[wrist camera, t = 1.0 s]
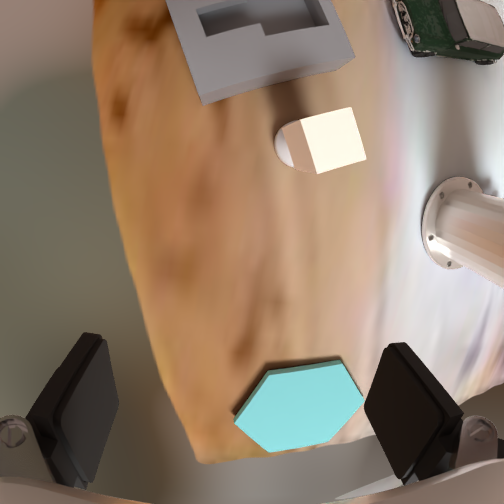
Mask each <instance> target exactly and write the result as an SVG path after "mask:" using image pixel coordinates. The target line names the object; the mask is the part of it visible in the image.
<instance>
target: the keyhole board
mask: <svg viewBox="0 0 504 504" xmlns="http://www.w3.org/2000/svg"><path fill="white" fill-rule="evenodd" d="M166 3H167V6H168V9H169V12H170V14H171V17H172V20H173V23H174V26H175V29H176V32H177V34H178V37H179V40H180V43H181V46H182V49H183V51H184V54H185V57H186V60H187V63H188V66H189V69H190V71H191V74H192V77H193V80H194V83H195V86H196V89H197V91H198V94H199V97H200V100H201V102H202V105H203V106H204V105H207V104H210V103H212V102H215V101H218V100H222V99H225V98H228V97H231V96H234V95H237V94H241V93H244V92H247V91H251V90H254V89H258V88H262V87H265V86H269V85H273V84H277V83H280V82H284V81H289V80H293V79H297V78H301V77H306V76H311V75H315V74H320V73H325V72H330V71H336V70H337V69H339V68H340V67H342V66H343V65H345V64H346V63H348V62H349V61H351V60H352V59H354V58H355V55H354V52H353V50H352V47H351V45H350V42H349V40H348V37H347V35H346V33H345V30H344V28H343V26H342V23H341V21H340V19H339V17H338V14H337V12H336V10H335V8H334V6H333V4H332V2H331V0H166Z"/></svg>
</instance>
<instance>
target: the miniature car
mask: <svg viewBox="0 0 504 504" xmlns="http://www.w3.org/2000/svg"><path fill="white" fill-rule="evenodd" d="M392 4H393V8H394V11H395V14H396V17H397V21H398V24H399V26H400V29H401V32H402V34H403V39H405V40H406V42H407V44H408V46H409V47H410V49H411V51H412V53H413V56H415V57H428V56H434V55H435V54H436V56H440V57H449V58H457V59H465V60H471V61H476V64H478V65H490V64H493V61H494V63H496V62H497V59H500V58H501V57H502V56H503V55H504V24H503V22H502V20H501V18H500V16H499V14H498V12H497V10H496V9H495V7H493V6H492V5H489V4H487V3H485V2H482V1H479V0H392ZM396 6H397V8H396ZM397 9H398V11H399V14H400V17H401V20H402V23H403V26H404V29H405V32H406V35H405V34H404V31H403V28H402V25H401V22H400V19H399V15H398V11H397ZM407 38H408V40H407ZM495 60H496V62H495Z"/></svg>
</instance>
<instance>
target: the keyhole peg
mask: <svg viewBox="0 0 504 504" xmlns="http://www.w3.org/2000/svg"><path fill="white" fill-rule="evenodd" d="M274 149H275V152H276V155H277V156H278V158H279V159H280V160H281V161H282V162H283V163H284V164H286V165H288V166H290V167H294V168H295V170H299V171H305V172H310V173H315V174H319V173H322V172H325V171H329V170H332V169H335V168H338V167H342V166H345V165H349V164H352V163H355V162H359V161H362V160H366V156H365V152H364V148H363V145H362V141H361V138H360V134H359V131H358V128H357V124H356V121H355V118H354V115H353V112H352V109H351V107H349V108H344V109H340V110H336V111H332V112H327V113H323V114H319V115H315V116H311V117H308V118H304V119H300V120H295V121H292V122H289V123H287V124H285V125H284V126H282V127H281V128H280V129H279V130H278V132H277V134H276V136H275V139H274Z"/></svg>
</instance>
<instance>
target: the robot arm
mask: <svg viewBox="0 0 504 504" xmlns="http://www.w3.org/2000/svg"><path fill="white" fill-rule="evenodd" d="M422 237H423V243H424V247H425V249H426V252H427V254H428V256H429V257H430V258H431V260H432V261H433V262H435V263H436V264H437V265H439V266H441V267H442V268H445V269H458V268H461V267H463V266H464V267H466V268H468V269H470V270H472V271H473V272H475V273H477V274H479V275H480V276H482V277H484V278H486V279H487V280H489V281H491V282H493V283H494V284H496V285H498V286H499V287H501V288H503V289H504V198H499V197H495V196H491V195H487V194H484V193H483V191H482V189H481V188H480V187H479V185H478V184H477V183H475V182H474V181H473V180H471V179H468V178H465V177H452V178H449V179H447V180H445V181H444V182H442V183H441V184H440V185H439V186H438V187H437V188H436V189H435V190H434V192H433V193H432V195H431V196H430V199H429V201H428V203H427V205H426V208H425V211H424V216H423V221H422ZM118 405H119V400H118V395H117V390H116V386H115V381H114V377H113V372H112V367H111V362H110V356H109V351H108V346H107V341H106V340H105V339H102V336H101V335H99V334H93V333H87V332H85V333H83V334H82V335H81V337H80V338H79V340H78V341H77V343H76V344H75V345H74V347H73V348H72V350H71V351H70V352H69V354H68V355H67V357H66V358H65V360H64V361H63V363H62V364H61V366H60V367H58V369H57V370H56V371H55V372H54V374H53V375H52V377H51V378H50V380H49V381H48V383H47V384H46V386H45V388H44V389H43V391H42V392H41V394H40V395H39V397H38V398H37V400H36V402H35V403H34V405H33V406H32V408H31V410H30V411H29V413H28V415H27V416H26V418H23V417H21V416H18V415H6V416H4V417H1V418H0V504H150V503H143V502H137V501H132V500H126V499H120V498H115V497H110V496H106V495H101V494H97V493H93V492H88V491H85V490H86V488H87V485H88V482H90V483H91V482H93V480H94V478H95V475H96V472H97V469H98V465H99V462H100V459H101V456H102V453H103V450H104V447H105V444H106V441H107V438H108V435H109V432H110V430H111V427H112V424H113V421H114V418H115V415H116V413H117V410H118ZM364 410H365V413H366V415H367V417H368V419H369V421H370V423H371V425H372V428H373V430H374V432H375V434H376V436H377V438H378V440H379V442H380V444H381V446H382V448H383V450H384V452H385V454H386V456H387V458H388V461H389V463H390V465H391V467H392V469H393V471H394V473H395V475H396V477H397V478H398V479H401V481H402V483H403V485H404V486H402V487H398V488H394V489H391V490H387V491H383V492H379V493H375V494H371V495H366V496H362V497H357V498H352V499H347V500H341V501H335V502H329V503H323V504H504V440H502V439H499V438H498V433H497V429H496V427H495V425H494V424H493V423H492V422H491V421H489V420H488V419H486V418H484V417H481V416H470V417H468V418H466V419H465V420H464V422H463V420H462V419H461V417H462V416H463V414H464V413H463V411H462V410H461V409H460V408H459V406H458V405H457V404H456V403H455V401H454V400H453V399H452V397H451V396H450V395H449V394H448V393H447V391H446V390H445V389H444V388H443V386H442V385H441V384H440V383H439V381H438V380H437V379H436V378H435V377H434V375H433V374H432V373H431V372H430V371H429V369H428V368H427V367H426V366H425V365H424V363H423V362H422V361H421V360H420V359H419V357H418V356H417V355H416V354H415V353H414V352H413V350H412V349H411V348H410V347H409V346H408V345H407V344H406V343H405V342H400V343H391V344H389V345H388V347H387V348H385V349H384V350H383V353H382V356H381V359H380V362H379V365H378V368H377V371H376V374H375V377H374V379H373V382H372V385H371V388H370V390H369V393H368V396H367V398H366V401H365V404H364ZM418 480H419V482H417V481H418ZM414 482H415V483H414ZM411 483H412V484H411ZM74 487H78V488H81V489H85V490H81V489H76V488H74Z"/></svg>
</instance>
